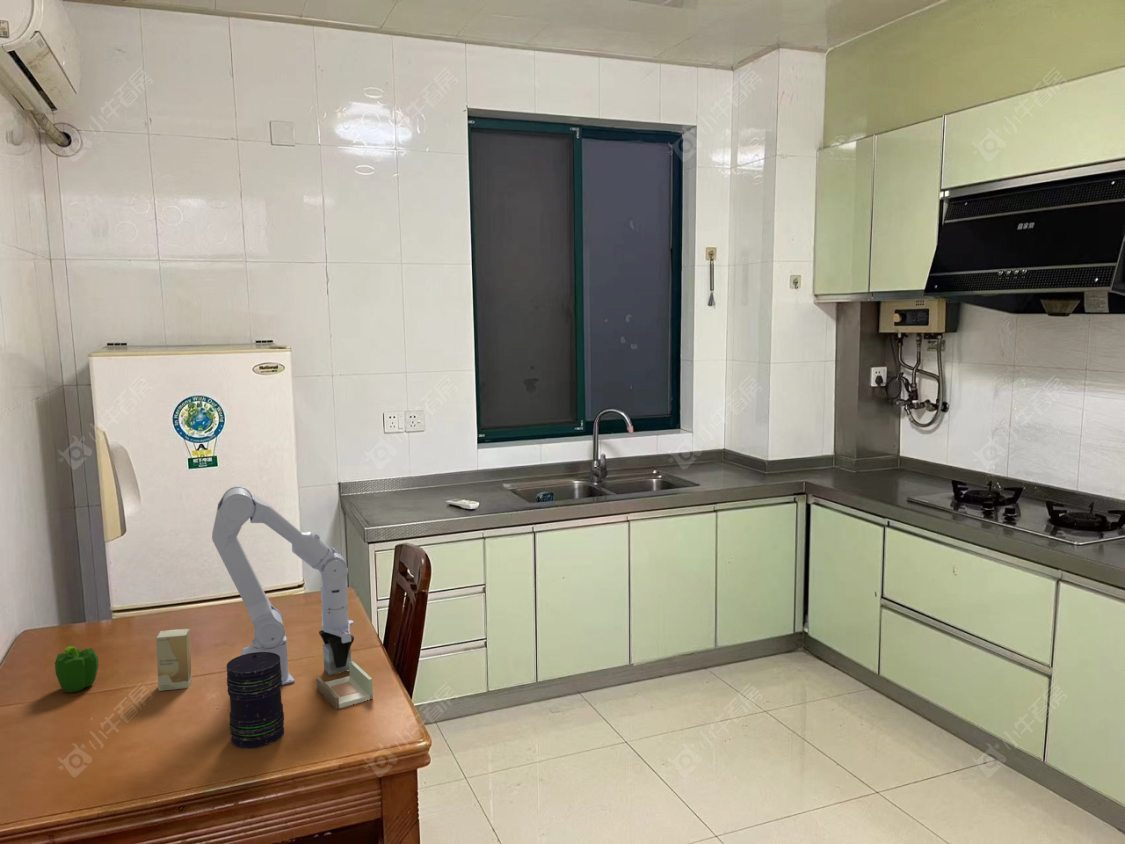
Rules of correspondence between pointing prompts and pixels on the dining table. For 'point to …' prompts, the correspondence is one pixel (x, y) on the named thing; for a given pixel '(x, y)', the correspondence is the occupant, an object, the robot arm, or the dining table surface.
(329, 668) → the slate cabinet block
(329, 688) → the open-front display tray
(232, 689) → the storage jar
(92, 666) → the bell pepper
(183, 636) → the skincare box
